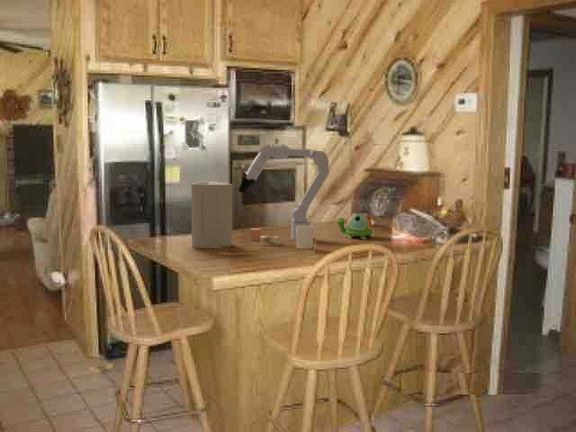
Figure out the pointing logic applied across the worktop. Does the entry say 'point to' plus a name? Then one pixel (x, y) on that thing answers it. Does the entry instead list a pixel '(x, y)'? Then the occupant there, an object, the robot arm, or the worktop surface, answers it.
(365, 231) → the turtle holder
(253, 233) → the rust block
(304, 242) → the white cup
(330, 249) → the worktop surface
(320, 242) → the worktop surface
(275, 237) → the maple brick
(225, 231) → the ribbed grey pillar
